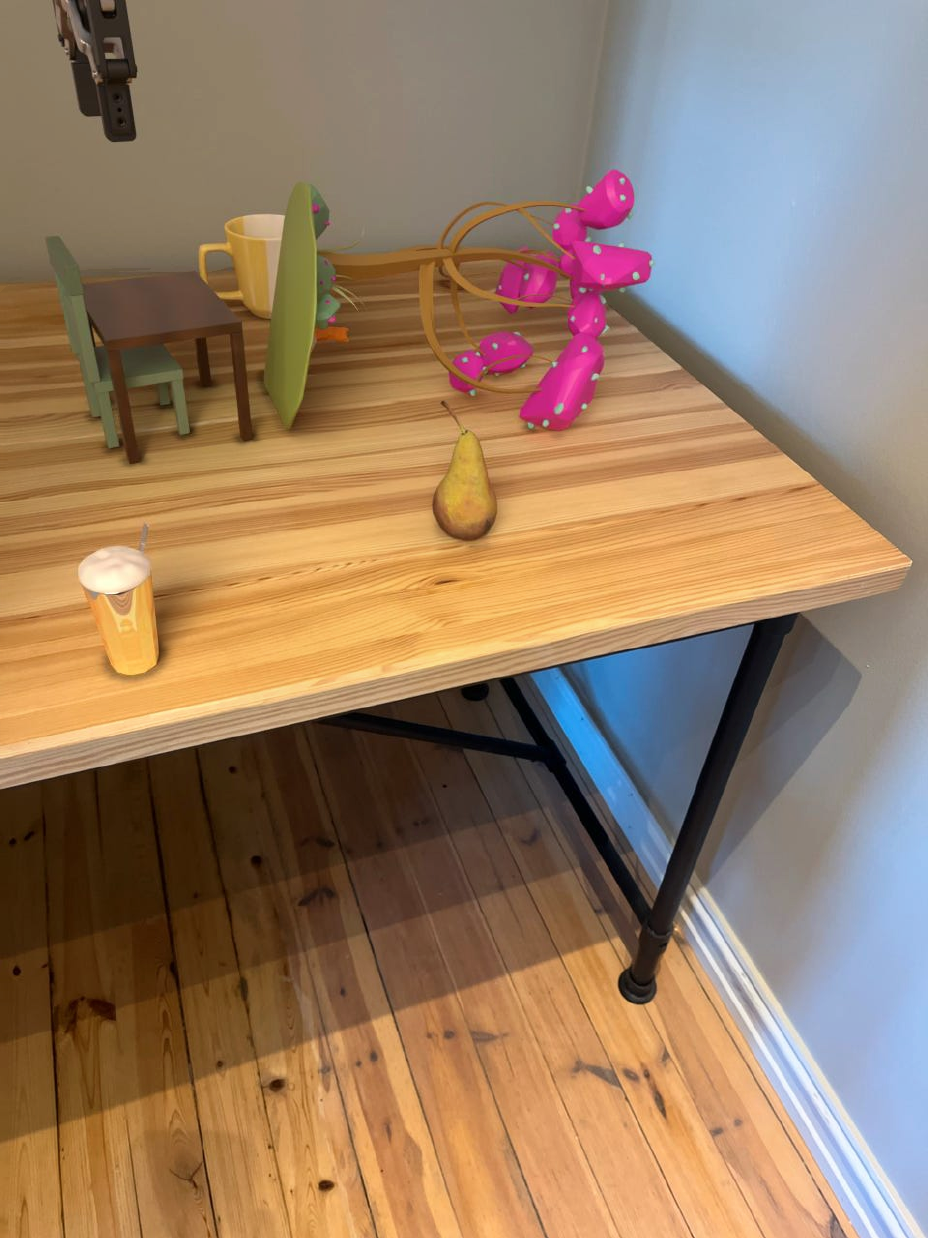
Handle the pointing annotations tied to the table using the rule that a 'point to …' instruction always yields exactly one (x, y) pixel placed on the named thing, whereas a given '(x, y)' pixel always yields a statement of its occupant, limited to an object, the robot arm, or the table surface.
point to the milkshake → (123, 605)
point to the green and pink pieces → (521, 283)
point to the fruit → (465, 491)
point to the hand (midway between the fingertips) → (107, 127)
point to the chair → (137, 362)
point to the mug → (250, 259)
